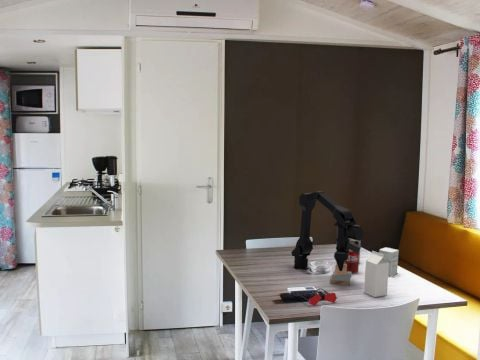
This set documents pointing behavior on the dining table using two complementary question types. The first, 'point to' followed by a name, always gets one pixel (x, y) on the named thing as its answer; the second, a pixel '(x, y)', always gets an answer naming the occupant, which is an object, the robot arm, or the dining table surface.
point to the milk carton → (376, 275)
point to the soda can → (352, 262)
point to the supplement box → (391, 259)
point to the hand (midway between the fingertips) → (341, 268)
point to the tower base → (340, 282)
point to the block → (340, 271)
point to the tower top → (342, 277)
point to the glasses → (317, 298)
